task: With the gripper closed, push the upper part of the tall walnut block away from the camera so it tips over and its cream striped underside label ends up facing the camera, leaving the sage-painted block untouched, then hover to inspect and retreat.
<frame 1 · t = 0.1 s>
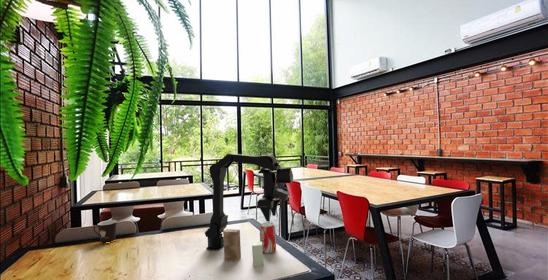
hand: (271, 218, 126), 15 cm above the table, tool pointing down, fingers open, 9 cm apart
sage block: (258, 263, 114), on the table
soda can: (268, 251, 126), on the table
coffee mug: (106, 241, 150), on the table
walnut block: (232, 259, 119), on the table
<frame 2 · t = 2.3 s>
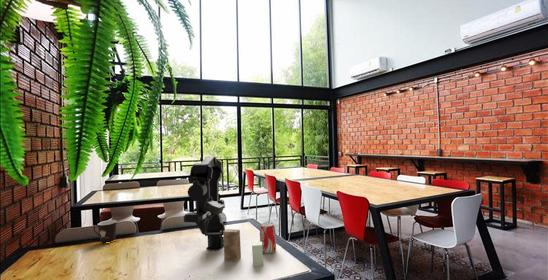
hand: (204, 234, 113), 13 cm above the table, tool pointing down, fingers closed
nothing on the table moved.
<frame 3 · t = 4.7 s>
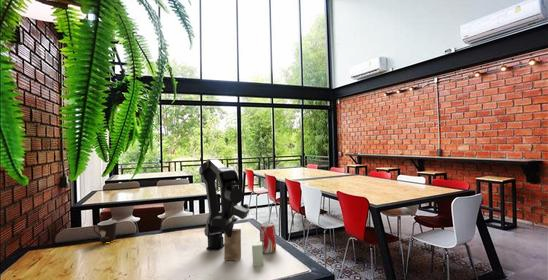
hand: (229, 237, 117), 10 cm above the table, tool pointing down, fingers closed
walnut block: (232, 258, 119), on the table, tilted 5°
everything else where it was.
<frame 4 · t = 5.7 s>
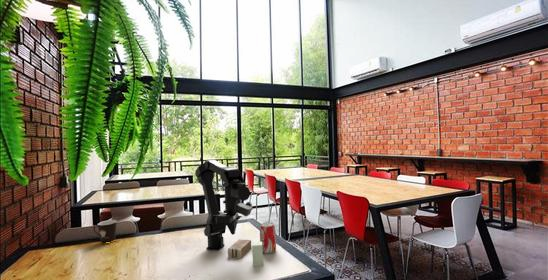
hand: (233, 234, 121), 10 cm above the table, tool pointing down, fingers closed
walnut block: (234, 253, 121), point 2 cm above the table, tilted 90°
everything else where it was.
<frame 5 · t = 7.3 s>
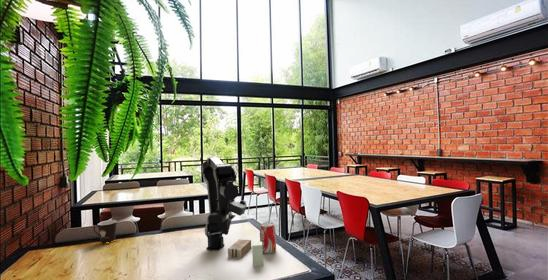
hand: (226, 234, 115), 12 cm above the table, tool pointing down, fingers closed
nothing on the table moved.
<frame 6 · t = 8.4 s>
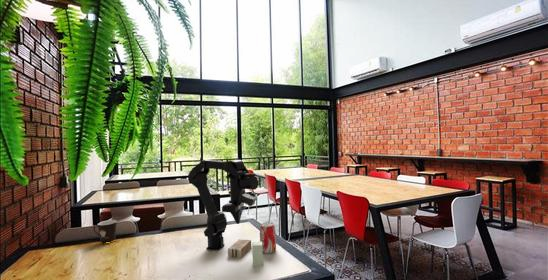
hand: (238, 223, 126), 13 cm above the table, tool pointing down, fingers closed
nothing on the table moved.
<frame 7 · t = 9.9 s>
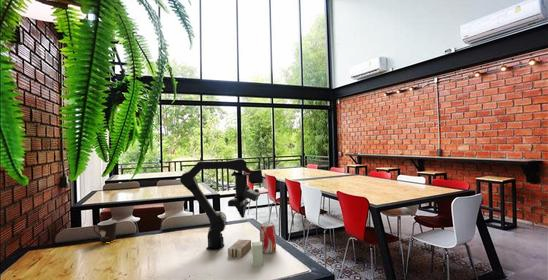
hand: (242, 217, 136), 13 cm above the table, tool pointing down, fingers closed
nothing on the table moved.
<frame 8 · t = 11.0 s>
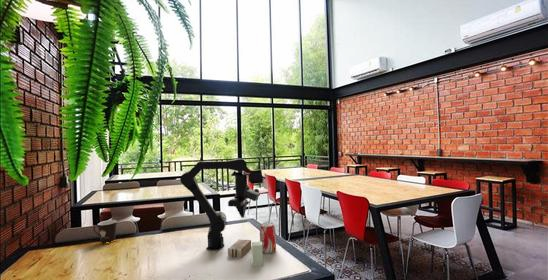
hand: (242, 217, 136), 13 cm above the table, tool pointing down, fingers closed
nothing on the table moved.
at the end: walnut block tilted 90°; walnut block inside the target area (1.1 cm from its centre), point 1.8 cm above the table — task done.
